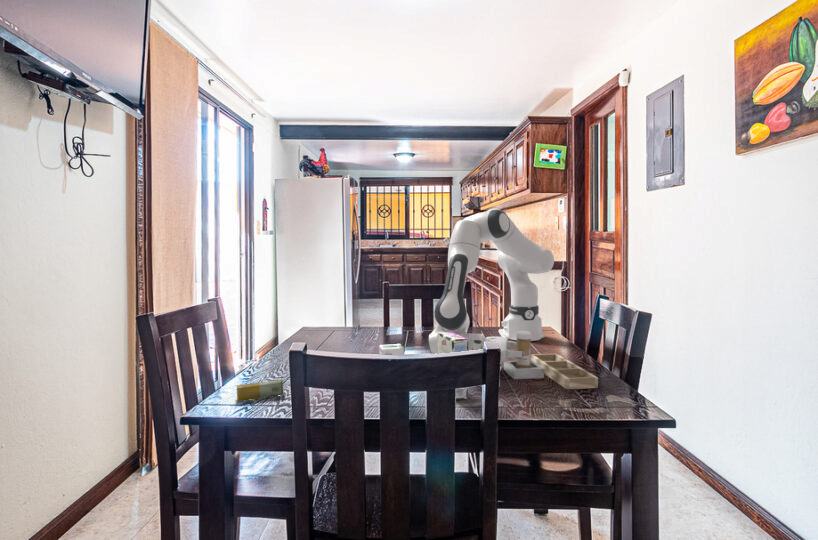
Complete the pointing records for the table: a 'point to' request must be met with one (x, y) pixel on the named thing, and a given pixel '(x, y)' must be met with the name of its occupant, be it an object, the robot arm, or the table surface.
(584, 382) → the wooden compartment tray
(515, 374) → the socket block
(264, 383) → the medication box
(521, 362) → the sprinkles bottle
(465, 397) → the candy bar box
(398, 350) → the syrup box
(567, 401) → the table surface
